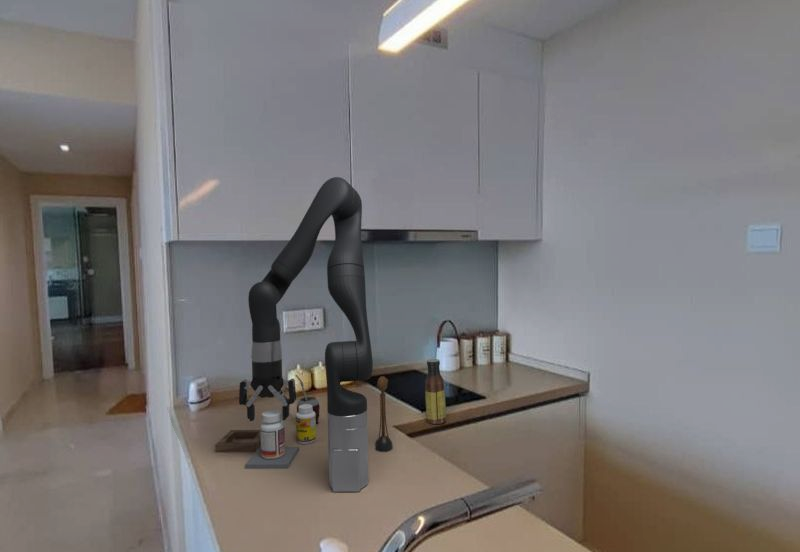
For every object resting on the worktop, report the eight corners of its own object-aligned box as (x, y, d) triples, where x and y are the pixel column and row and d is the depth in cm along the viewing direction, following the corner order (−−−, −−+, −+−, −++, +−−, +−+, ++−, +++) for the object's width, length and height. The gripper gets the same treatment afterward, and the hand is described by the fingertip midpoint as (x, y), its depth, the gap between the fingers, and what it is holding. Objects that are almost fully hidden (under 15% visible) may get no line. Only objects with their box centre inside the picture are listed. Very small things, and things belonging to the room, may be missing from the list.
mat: (288, 468, 117) (288, 464, 117) (245, 468, 118) (244, 464, 118) (299, 450, 128) (299, 446, 128) (259, 450, 129) (259, 446, 129)
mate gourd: (318, 427, 145) (317, 379, 145) (292, 428, 145) (291, 380, 144) (321, 419, 153) (319, 374, 152) (296, 420, 152) (295, 374, 152)
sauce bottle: (444, 418, 152) (443, 357, 151) (447, 425, 146) (446, 361, 145) (424, 418, 152) (423, 358, 151) (426, 425, 145) (425, 362, 145)
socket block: (254, 451, 128) (254, 444, 128) (215, 452, 128) (215, 444, 128) (267, 436, 139) (267, 429, 139) (231, 436, 139) (230, 430, 139)
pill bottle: (280, 448, 127) (279, 407, 127) (288, 456, 122) (287, 413, 122) (258, 453, 124) (256, 411, 124) (265, 462, 119) (263, 418, 118)
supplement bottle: (292, 442, 134) (291, 407, 133) (305, 436, 139) (304, 402, 138) (307, 446, 131) (306, 410, 131) (320, 439, 136) (319, 404, 136)
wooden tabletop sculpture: (380, 442, 133) (378, 373, 132) (395, 444, 131) (394, 373, 130) (372, 450, 127) (371, 378, 126) (388, 452, 126) (387, 379, 125)
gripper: (297, 354, 125) (298, 414, 125) (244, 355, 125) (245, 415, 125) (291, 360, 118) (292, 424, 118) (234, 361, 117) (236, 425, 118)
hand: (268, 419), depth 122 cm, fingers open, 8 cm apart
